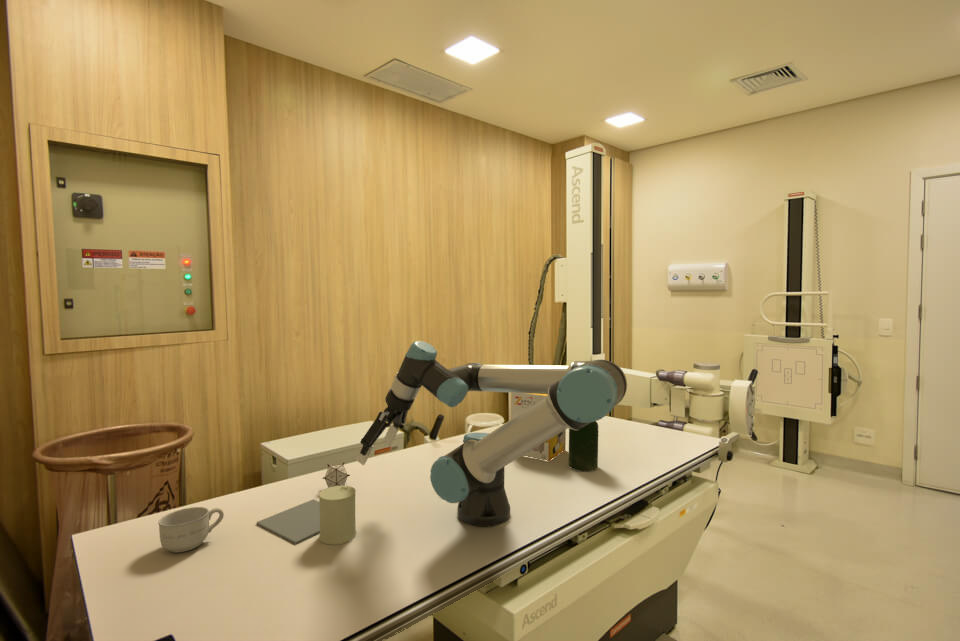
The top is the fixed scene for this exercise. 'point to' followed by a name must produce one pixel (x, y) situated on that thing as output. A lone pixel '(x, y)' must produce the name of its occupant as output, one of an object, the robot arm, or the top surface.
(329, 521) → the can
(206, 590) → the top surface
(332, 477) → the game die
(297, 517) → the mat
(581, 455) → the green bottle
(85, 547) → the top surface
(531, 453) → the packaging box
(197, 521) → the teacup
